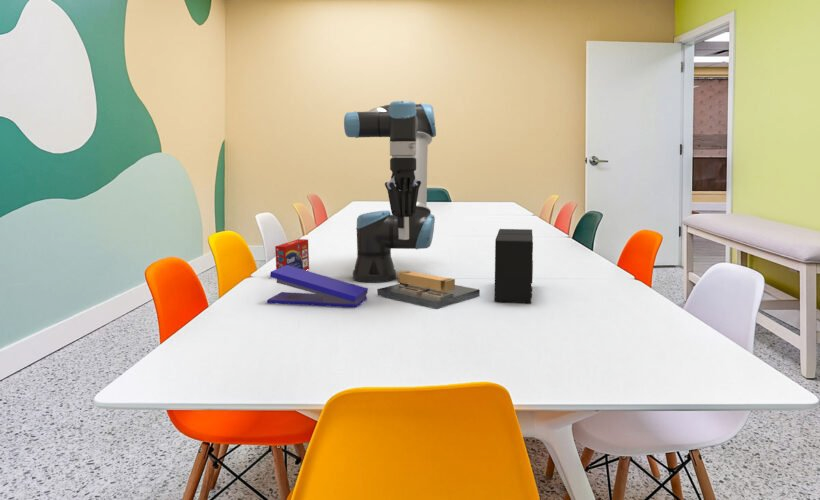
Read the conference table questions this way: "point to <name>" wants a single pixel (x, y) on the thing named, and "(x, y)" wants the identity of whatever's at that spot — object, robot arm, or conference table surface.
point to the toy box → (293, 254)
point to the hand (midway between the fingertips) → (403, 239)
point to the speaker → (513, 265)
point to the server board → (428, 295)
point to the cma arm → (426, 280)
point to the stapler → (316, 289)
